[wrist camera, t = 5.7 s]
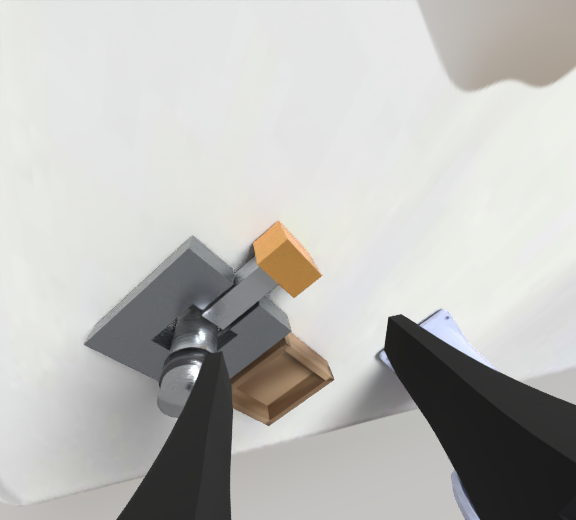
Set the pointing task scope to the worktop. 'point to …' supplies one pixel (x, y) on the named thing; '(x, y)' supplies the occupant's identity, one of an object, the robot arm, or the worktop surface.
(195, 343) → the silver metal canister
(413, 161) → the worktop surface
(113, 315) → the socket
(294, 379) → the square wooden tray
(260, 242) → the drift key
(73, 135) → the worktop surface
